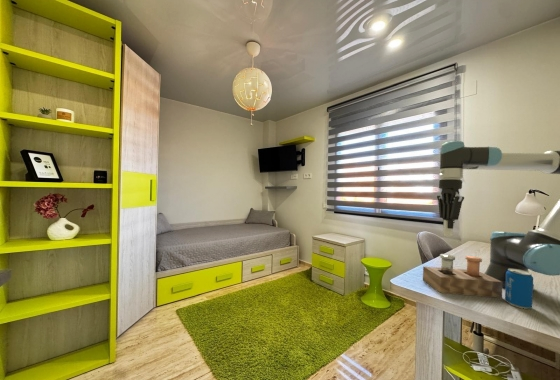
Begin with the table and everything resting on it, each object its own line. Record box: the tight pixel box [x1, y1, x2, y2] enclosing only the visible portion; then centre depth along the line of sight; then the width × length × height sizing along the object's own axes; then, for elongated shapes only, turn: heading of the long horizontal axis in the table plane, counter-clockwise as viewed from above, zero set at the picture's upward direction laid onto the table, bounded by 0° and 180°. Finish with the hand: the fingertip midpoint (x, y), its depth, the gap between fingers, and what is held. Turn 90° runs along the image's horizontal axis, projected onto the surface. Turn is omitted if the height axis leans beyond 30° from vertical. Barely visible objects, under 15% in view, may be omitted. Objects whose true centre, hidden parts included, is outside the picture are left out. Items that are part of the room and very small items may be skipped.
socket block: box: [422, 265, 503, 299], centre depth 88 cm, size 22×12×6 cm, turn 84°
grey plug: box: [439, 253, 456, 275], centre depth 89 cm, size 5×5×7 cm
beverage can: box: [504, 269, 534, 310], centre depth 76 cm, size 6×6×12 cm
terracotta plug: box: [465, 255, 483, 277], centre depth 88 cm, size 5×5×7 cm
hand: (447, 235), depth 89 cm, fingers closed
